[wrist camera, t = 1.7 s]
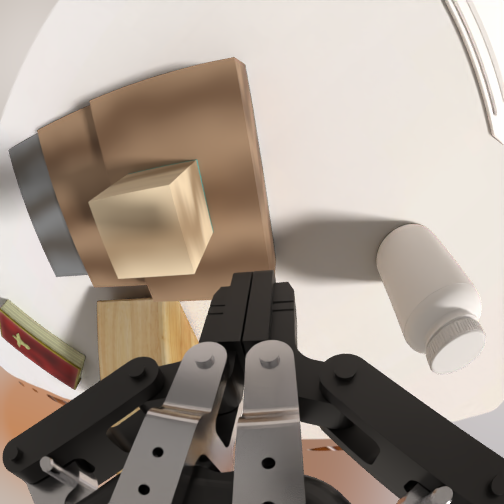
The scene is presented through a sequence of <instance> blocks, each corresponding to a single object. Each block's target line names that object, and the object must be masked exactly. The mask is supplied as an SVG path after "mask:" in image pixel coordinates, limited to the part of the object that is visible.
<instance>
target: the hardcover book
mask: <svg viewBox="0 0 504 504" xmlns="http://www.w3.org/2000/svg"><path fill="white" fill-rule="evenodd" d="M0 330H1V336H2V337H3V338H4V339H5V340H6V341H7V342H9V343H10V344H11V345H12V346H14V347H15V348H16V349H17V350H19V351H20V352H21V353H22V354H24V355H25V356H26V357H28V358H29V359H30V360H32V361H33V362H34V363H36V364H37V365H38V366H40V367H41V368H42V369H44V370H45V371H47V372H48V373H50V374H51V375H53V376H54V377H55V378H57V379H58V380H60V381H61V382H63V383H65V384H66V385H68V386H69V387H71V388H72V389H74V390H75V389H76V388H77V386H78V384H79V382H80V380H81V378H80V375H81V371H82V368H83V364H84V361H85V357H86V356H84V355H83V354H81V353H80V352H78V351H77V350H75V349H74V348H72V347H71V346H69V345H68V344H66V343H65V342H63V341H62V340H60V339H59V338H58V337H56V336H55V335H53V334H52V333H51V332H49V331H48V330H46V329H45V328H44V327H42V326H41V325H40V324H38V323H37V322H36V321H34V320H33V319H32V318H31V317H29V316H28V315H27V314H25V313H24V312H23V311H22V310H20V309H19V308H18V307H17V306H16V305H14V304H13V303H12V302H11V301H10V300H7V301H6V302H5V303H4V304H3V306H2V307H1V308H0Z"/></svg>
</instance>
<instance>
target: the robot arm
mask: <svg viewBox="0 0 504 504" xmlns="http://www.w3.org/2000/svg"><path fill="white" fill-rule="evenodd" d="M243 390H244V399H243V398H242V397H243ZM138 407H139V408H140V410H138V411H137V412H135V413H134V414H133V415H131V416H130V417H128V418H127V419H126V420H124V421H123V422H121V423H120V424H119V425H117V426H115V427H111V426H113V425H114V424H116V423H117V422H118V421H120V420H121V419H123V418H124V417H126V416H127V415H128V414H130V413H131V412H133V411H134V410H135V409H137V408H138ZM242 410H243V414H242ZM241 414H242V417H241ZM300 421H301V422H305V423H309V424H313V425H317V426H320V428H321V429H322V430H323V432H325V433H326V434H327V435H328V436H329V437H330V438H331V439H332V440H333V441H334V442H335V443H336V444H337V445H338V446H339V447H341V448H342V449H343V450H344V451H345V452H346V453H347V454H348V455H349V456H351V457H352V458H353V459H354V460H355V461H356V462H357V463H358V464H360V465H361V466H362V467H363V468H364V469H365V470H366V471H367V472H369V473H370V474H371V475H372V476H373V477H374V478H376V479H377V480H378V481H379V482H380V483H381V484H383V485H384V486H385V487H386V488H388V489H389V490H390V491H391V492H392V493H394V494H395V495H396V496H397V497H398V498H400V499H399V500H398V502H397V503H396V504H504V458H503V457H501V456H500V455H498V454H496V453H495V452H494V451H492V450H491V449H489V448H488V447H486V446H485V445H483V444H482V443H480V442H479V441H477V440H476V439H474V438H473V437H471V436H470V435H469V434H467V433H466V432H464V431H463V430H461V429H460V428H459V427H457V426H456V425H454V424H453V423H451V422H450V421H448V420H447V419H446V418H444V417H443V416H441V415H440V414H439V413H437V412H436V411H434V410H433V409H431V408H430V407H429V406H427V405H426V404H424V403H423V402H422V401H420V400H419V399H417V398H416V397H415V396H413V395H412V394H410V393H409V392H408V391H406V390H405V389H403V388H402V387H401V386H399V385H398V384H396V383H395V382H394V381H392V380H391V379H389V378H388V377H387V376H385V375H384V374H383V373H381V372H380V371H378V370H377V369H376V368H374V367H373V366H372V365H370V364H369V363H367V362H366V361H365V360H363V359H362V358H360V357H358V356H356V355H352V354H339V355H335V356H333V357H331V358H329V359H328V360H326V361H325V362H322V361H317V360H313V359H310V358H307V357H305V356H304V355H302V354H301V353H300V352H299V351H298V349H297V317H296V306H295V295H294V290H293V288H292V287H291V285H290V284H289V282H281V283H276V280H275V273H274V270H263V271H254V272H253V271H251V272H238V273H233V276H232V280H231V284H230V286H225V287H220V289H219V290H218V291H217V292H216V293H215V294H214V295H213V298H212V301H211V304H210V308H209V311H208V315H207V317H206V320H205V324H204V327H203V330H202V333H201V337H200V340H199V343H198V344H196V345H194V346H193V347H191V348H190V349H189V350H188V351H187V352H186V353H185V355H184V357H183V359H182V360H181V361H179V362H175V363H171V364H167V365H162V366H158V364H157V362H156V361H155V360H154V359H152V358H150V357H137V358H134V359H132V360H130V361H128V362H127V363H126V364H124V365H123V366H121V367H120V368H118V369H117V370H115V371H114V372H113V373H111V374H110V375H108V376H107V377H105V378H104V379H102V380H101V381H99V382H98V383H96V384H95V385H93V386H92V387H91V388H89V389H88V390H86V391H85V392H83V393H82V394H80V395H79V396H77V397H76V398H74V399H73V400H71V401H70V402H68V403H67V404H65V405H64V406H62V407H61V408H59V409H58V410H56V411H55V412H54V413H52V414H50V415H49V416H47V417H46V418H44V419H43V420H41V421H40V422H38V423H37V424H35V425H34V426H32V427H31V428H29V429H28V430H26V431H24V432H23V433H22V434H20V435H18V436H17V437H15V438H14V439H12V440H11V441H10V442H8V444H7V445H6V446H5V449H4V451H3V463H4V465H5V467H6V469H7V470H8V471H10V472H11V473H13V474H14V475H16V476H17V477H19V478H21V479H22V480H23V481H24V482H25V483H26V484H27V486H28V489H29V491H30V494H31V496H32V499H33V501H34V503H35V504H351V503H350V502H349V501H348V500H347V499H346V498H345V497H344V496H343V495H342V494H341V493H340V492H339V491H338V490H336V489H335V488H334V487H332V486H331V485H329V484H327V483H326V482H324V481H322V480H319V479H317V478H314V477H311V476H308V475H304V470H303V456H302V442H301V429H300ZM235 440H236V449H235V467H234V471H233V448H234V444H235ZM122 469H123V470H122ZM121 470H122V472H121V473H119V474H118V475H117V476H115V477H114V478H112V479H111V480H110V481H108V482H107V483H105V484H104V485H103V486H101V487H100V488H98V485H100V484H101V483H103V482H104V481H106V480H107V479H109V478H110V477H112V476H113V475H115V474H116V473H118V472H119V471H121Z"/></svg>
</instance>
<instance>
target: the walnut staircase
mask: <svg viewBox="0 0 504 504" xmlns="http://www.w3.org/2000/svg"><path fill="white" fill-rule="evenodd" d="M37 132H38V133H37V134H36V135H34V136H32V137H30V138H28V139H26V140H25V141H23V142H21V143H19V144H18V145H16V146H14V147H13V148H11V149H9V150H8V151H9V154H10V158H11V162H12V165H13V169H14V172H15V175H16V179H17V182H18V185H19V188H20V191H21V194H22V197H23V200H24V203H25V205H26V208H27V211H28V213H29V216H30V219H31V221H32V224H33V226H34V229H35V231H36V234H37V236H38V238H39V241H40V243H41V245H42V247H43V250H44V252H45V254H46V256H47V258H48V261H49V263H50V265H51V267H52V269H53V271H54V273H55V275H56V277H62V276H77V275H89V278H90V280H91V282H92V284H93V286H94V287H115V286H138V285H147V287H148V289H149V291H150V294H151V296H152V298H153V301H154V302H167V301H195V300H212V298H213V295H214V294H215V293H216V292H217V291H218V290H219V289H220V287H225V286H230V284H231V280H232V276H233V273H238V272H251V271H253V272H254V271H263V270H274V273H275V263H276V256H275V249H274V242H273V235H272V228H271V221H270V214H269V207H268V200H267V194H266V187H265V180H264V174H263V167H262V161H261V155H260V148H259V142H258V136H257V130H256V124H255V118H254V112H253V106H252V100H251V94H250V88H249V82H248V77H247V71H246V65H245V64H244V63H242V62H241V61H239V60H238V59H236V58H235V57H233V58H227V59H222V60H217V61H212V62H208V63H203V64H199V65H195V66H191V67H187V68H183V69H179V70H176V71H172V72H169V73H165V74H162V75H158V76H155V77H152V78H149V79H146V80H143V81H140V82H137V83H134V84H131V85H128V86H125V87H123V88H120V89H117V90H115V91H112V92H110V93H107V94H104V95H102V96H100V97H97V98H95V99H92V100H90V105H89V106H87V107H84V108H82V109H80V110H78V111H75V112H73V113H71V114H69V115H67V116H65V117H63V118H60V119H58V120H56V121H54V122H52V123H50V124H48V125H47V126H45V127H43V128H41V129H39V130H37ZM191 160H197V161H198V166H199V170H200V175H201V179H202V184H203V188H204V193H205V197H206V201H207V206H208V210H209V214H210V219H211V223H212V227H213V234H212V236H211V238H210V240H209V242H208V245H207V247H206V249H205V251H204V254H203V256H202V258H201V260H200V263H199V265H198V267H197V269H196V272H195V274H188V275H173V276H157V277H142V278H125V279H118V277H117V275H116V272H115V270H114V268H113V265H112V263H111V261H110V258H109V256H108V253H107V251H106V248H105V246H104V243H103V241H102V238H101V236H100V233H99V231H98V228H97V225H96V223H95V220H94V217H93V214H92V211H91V209H90V206H89V203H88V202H89V201H90V200H92V199H93V198H94V197H96V196H97V195H99V194H100V193H101V192H103V191H104V190H106V189H107V188H108V187H110V186H111V185H113V184H114V183H116V182H117V181H119V180H120V179H122V178H123V177H125V176H126V175H128V174H130V173H134V172H139V171H143V170H147V169H152V168H156V167H161V166H166V165H171V164H176V163H181V162H186V161H191Z"/></svg>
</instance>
